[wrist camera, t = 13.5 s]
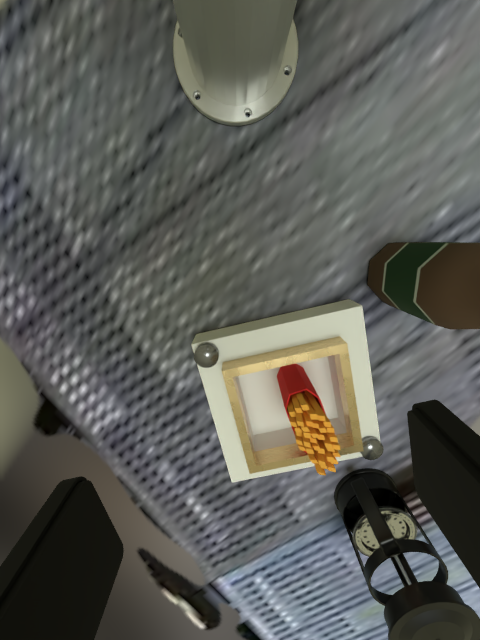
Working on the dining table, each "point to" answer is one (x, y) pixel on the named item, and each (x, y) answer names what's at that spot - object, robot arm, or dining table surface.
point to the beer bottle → (430, 281)
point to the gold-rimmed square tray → (264, 392)
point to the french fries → (308, 418)
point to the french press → (402, 563)
